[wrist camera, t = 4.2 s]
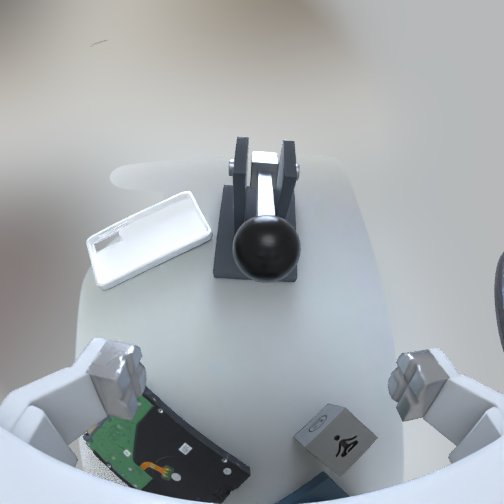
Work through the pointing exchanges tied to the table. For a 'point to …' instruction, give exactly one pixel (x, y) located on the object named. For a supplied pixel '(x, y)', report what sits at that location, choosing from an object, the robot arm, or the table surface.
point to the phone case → (148, 239)
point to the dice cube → (336, 438)
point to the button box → (316, 491)
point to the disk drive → (165, 454)
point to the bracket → (252, 205)
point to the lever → (265, 229)
